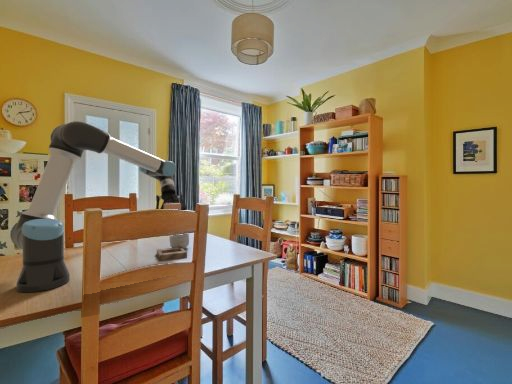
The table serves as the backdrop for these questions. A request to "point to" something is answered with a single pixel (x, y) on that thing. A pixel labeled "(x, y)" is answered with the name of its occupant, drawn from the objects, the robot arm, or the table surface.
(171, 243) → the grey rounded piece
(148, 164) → the robot arm
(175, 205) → the pinkish brown block
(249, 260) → the table surface
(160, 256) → the base board
